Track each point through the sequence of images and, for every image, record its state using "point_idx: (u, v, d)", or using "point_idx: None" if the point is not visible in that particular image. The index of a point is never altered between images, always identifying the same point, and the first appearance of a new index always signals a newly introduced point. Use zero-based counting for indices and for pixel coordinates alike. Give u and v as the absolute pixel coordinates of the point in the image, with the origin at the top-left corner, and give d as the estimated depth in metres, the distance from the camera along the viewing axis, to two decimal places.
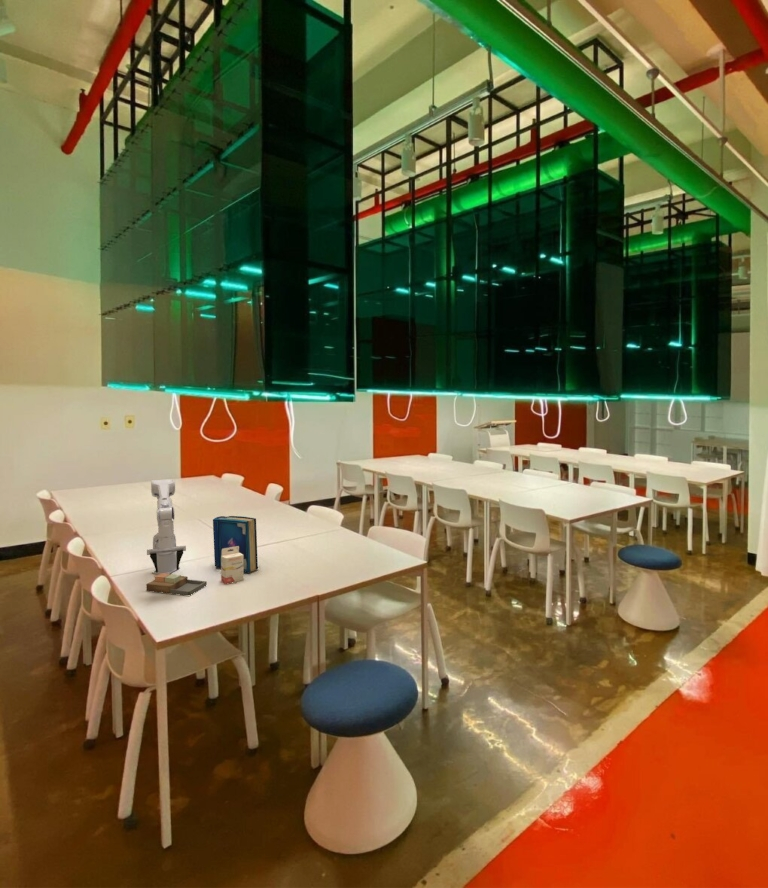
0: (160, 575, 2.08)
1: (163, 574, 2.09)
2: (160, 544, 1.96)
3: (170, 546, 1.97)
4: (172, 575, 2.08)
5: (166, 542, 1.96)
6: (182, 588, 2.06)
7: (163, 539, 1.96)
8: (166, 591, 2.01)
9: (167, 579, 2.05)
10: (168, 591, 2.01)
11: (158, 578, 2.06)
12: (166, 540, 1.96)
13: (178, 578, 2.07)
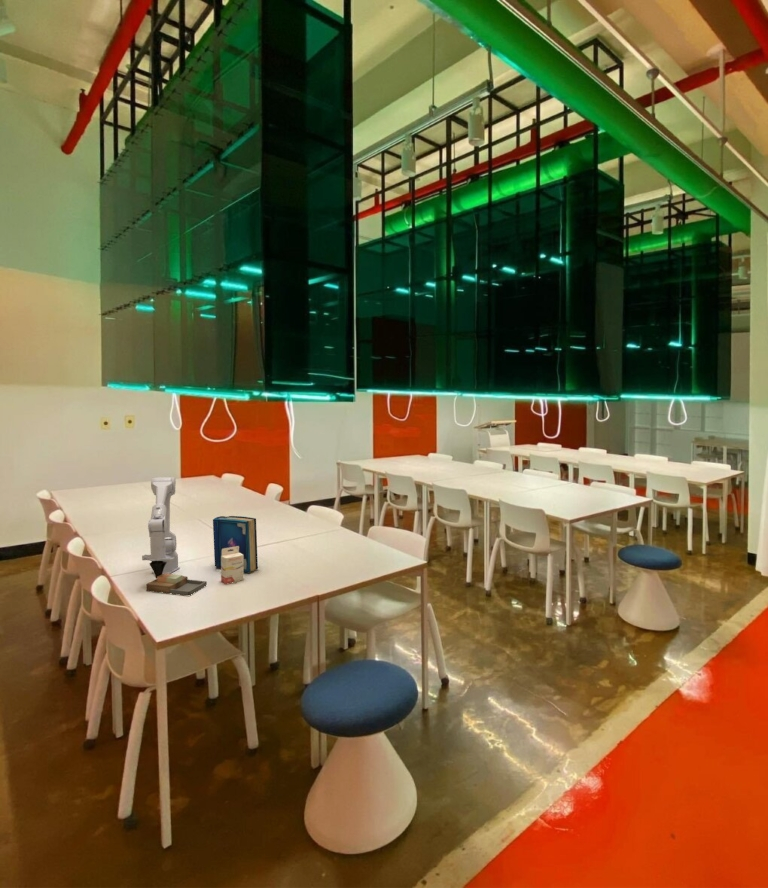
0: (163, 575, 2.08)
1: (166, 574, 2.09)
2: None
3: (157, 557, 2.05)
4: (174, 575, 2.08)
5: (153, 553, 2.05)
6: (182, 588, 2.06)
7: (151, 549, 2.05)
8: (166, 591, 2.01)
9: (169, 579, 2.05)
10: (168, 591, 2.01)
11: (161, 578, 2.06)
12: (153, 550, 2.05)
13: (180, 578, 2.07)
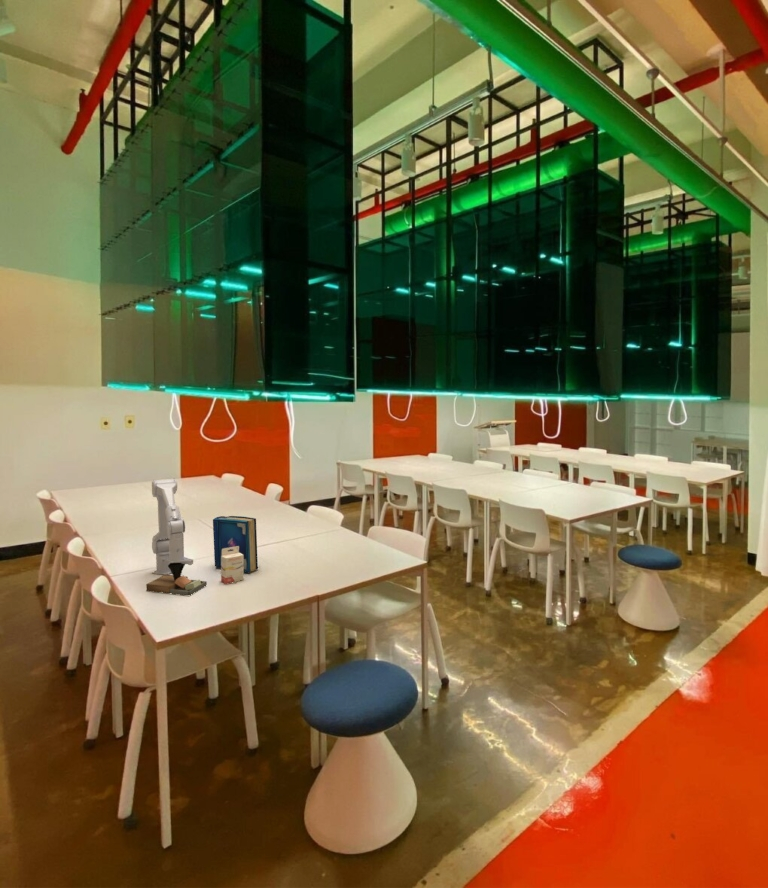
0: (181, 579, 2.06)
1: (184, 578, 2.07)
2: (169, 555, 2.05)
3: (175, 559, 2.03)
4: None
5: (171, 554, 2.03)
6: (182, 588, 2.06)
7: (170, 551, 2.03)
8: (166, 591, 2.01)
9: (191, 587, 2.03)
10: (168, 591, 2.01)
11: (179, 582, 2.04)
12: (172, 552, 2.03)
13: None
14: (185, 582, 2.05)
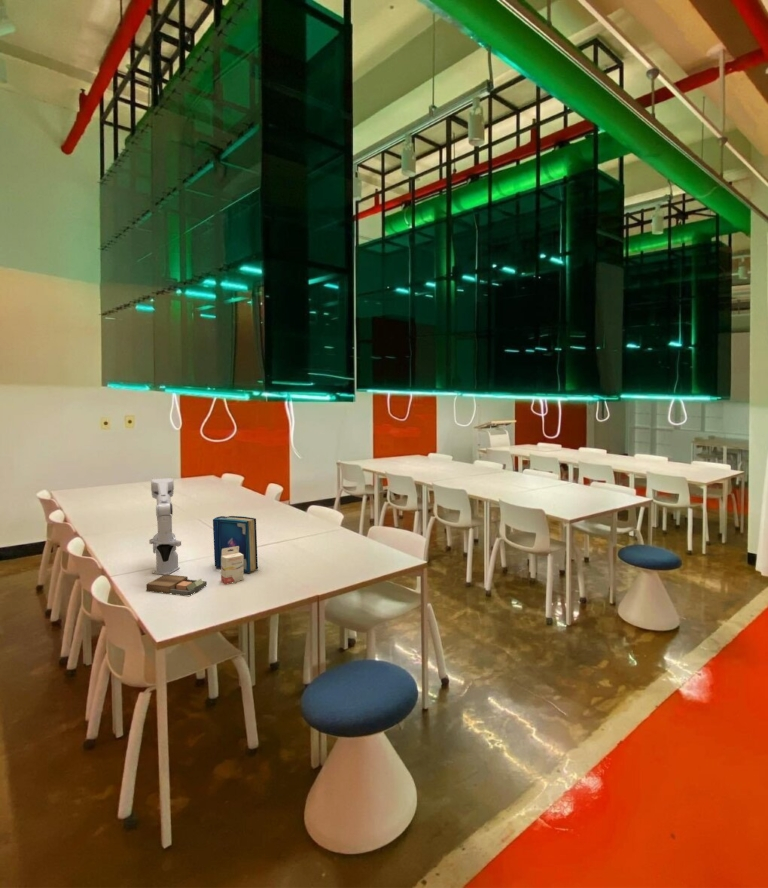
0: (182, 583, 2.06)
1: (185, 582, 2.07)
2: (157, 537, 2.11)
3: (164, 540, 2.10)
4: (198, 585, 2.06)
5: (160, 536, 2.10)
6: None
7: (158, 533, 2.10)
8: (166, 591, 2.01)
9: (193, 586, 2.03)
10: (168, 591, 2.01)
11: (180, 586, 2.04)
12: (161, 534, 2.10)
13: None
14: (186, 584, 2.05)
